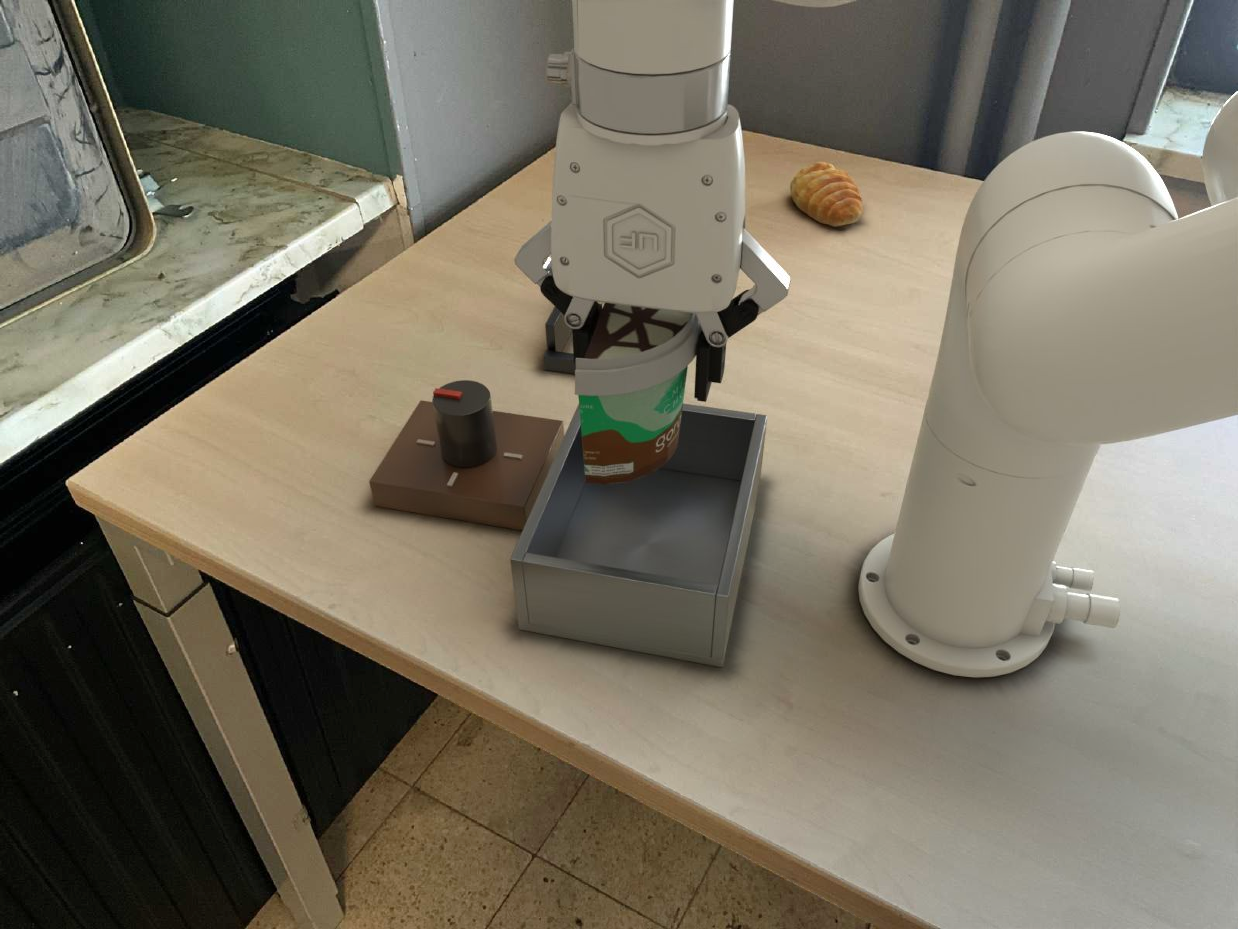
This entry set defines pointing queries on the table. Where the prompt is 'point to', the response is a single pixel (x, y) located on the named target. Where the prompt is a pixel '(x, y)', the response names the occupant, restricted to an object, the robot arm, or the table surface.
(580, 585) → the grey open box
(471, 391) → the tap knob
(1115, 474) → the table surface
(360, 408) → the table surface
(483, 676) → the table surface
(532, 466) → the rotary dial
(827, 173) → the pastry
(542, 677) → the table surface
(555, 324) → the dish rack
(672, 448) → the food container
